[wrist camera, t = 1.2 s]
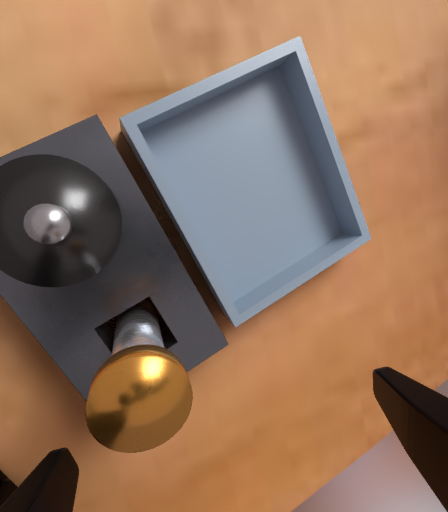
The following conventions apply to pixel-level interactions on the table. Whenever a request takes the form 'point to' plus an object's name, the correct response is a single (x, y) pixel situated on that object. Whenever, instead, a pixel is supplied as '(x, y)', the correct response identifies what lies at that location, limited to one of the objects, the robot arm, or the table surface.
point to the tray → (251, 178)
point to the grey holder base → (90, 254)
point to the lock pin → (138, 387)
